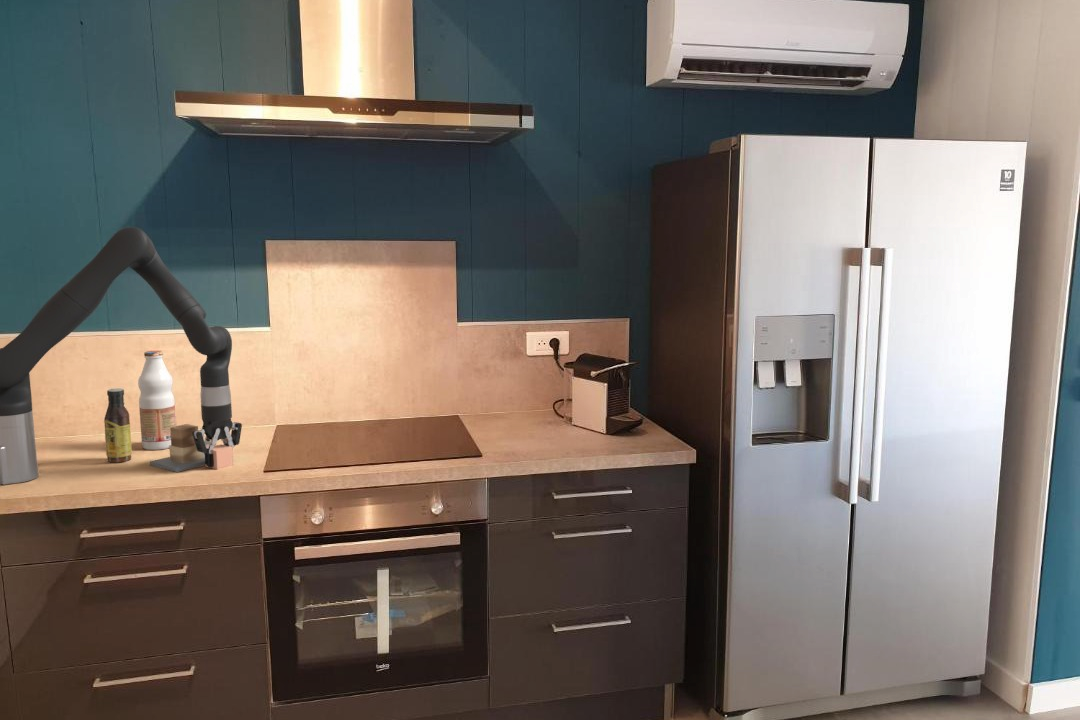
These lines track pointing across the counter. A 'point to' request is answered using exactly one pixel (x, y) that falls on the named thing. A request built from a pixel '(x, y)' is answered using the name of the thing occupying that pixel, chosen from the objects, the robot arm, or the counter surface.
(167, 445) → the fruit juice
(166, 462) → the board
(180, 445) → the walnut block
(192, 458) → the oak plinth
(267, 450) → the counter surface
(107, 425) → the sauce bottle
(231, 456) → the terracotta block
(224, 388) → the robot arm
